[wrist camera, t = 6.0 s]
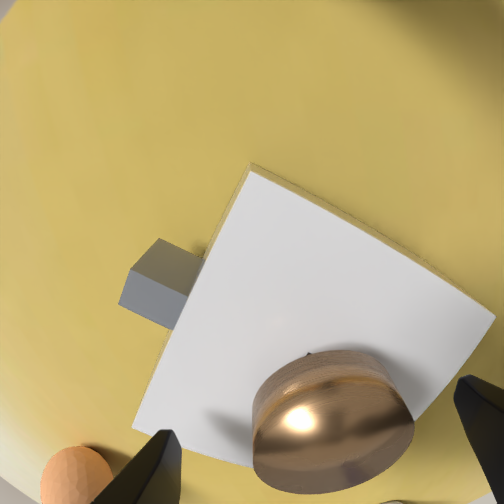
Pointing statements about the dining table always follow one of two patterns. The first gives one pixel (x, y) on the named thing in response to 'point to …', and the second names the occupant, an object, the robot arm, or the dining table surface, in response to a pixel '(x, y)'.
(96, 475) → the egg
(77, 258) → the dining table surface
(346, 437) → the plunger
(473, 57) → the dining table surface
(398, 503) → the energy drink
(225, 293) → the white box with hole
